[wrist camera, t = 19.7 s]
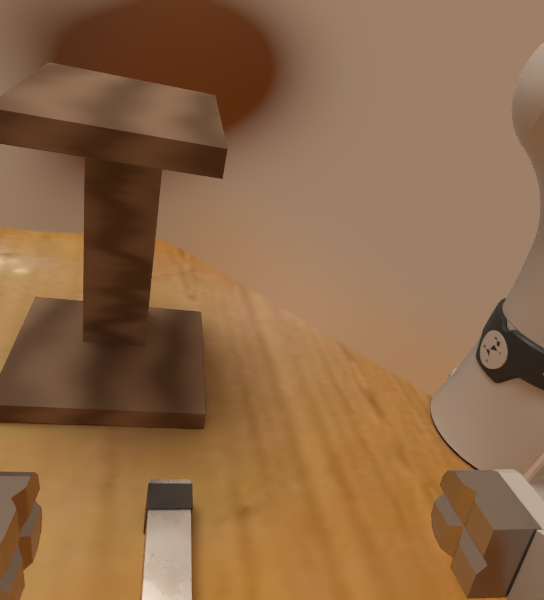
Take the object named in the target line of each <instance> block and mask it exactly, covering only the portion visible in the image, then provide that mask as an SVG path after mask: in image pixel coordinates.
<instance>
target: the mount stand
mask: <svg viewBox="0 0 544 600" xmlns="http://www.w3.org/2000/svg"><path fill="white" fill-rule="evenodd" d="M0 144H6V145H12V146H18V147H25V148H31V149H37V150H44V151H50V152H56V153H62V154H69V155H75V156H81V157H85V186H84V187H85V188H84V277H83V301H76V300H65V299H54V298H43V297H35V299H34V301H33V303H32V305H31V308H30V310H29V312H28V314H27V316H26V319H25V321H24V323H23V325H22V327H21V330H20V332H19V334H18V336H17V338H16V341H15V343H14V345H13V347H12V349H11V352H10V354H9V356H8V358H7V360H6V363H5V365H4V367H3V369H2V371H1V374H0V422H15V423H44V424H73V425H103V426H132V427H161V428H190V429H203V425H204V420H205V415H206V408H205V386H204V364H203V342H202V320H201V312H196V311H185V310H174V309H163V308H152V307H149V299H150V288H151V278H152V268H153V258H154V247H155V237H156V227H157V216H158V205H159V195H160V185H161V175H162V169H164V170H170V171H177V172H183V173H189V174H195V175H202V176H208V177H214V178H221V179H222V178H223V173H224V166H225V160H226V155H227V145H226V141H225V136H224V132H223V128H222V123H221V119H220V115H219V110H218V106H217V102H216V97H215V95H211V94H206V93H201V92H196V91H191V90H186V89H181V88H176V87H171V86H166V85H161V84H155V83H151V82H146V81H141V80H136V79H130V78H125V77H120V76H115V75H110V74H105V73H100V72H95V71H90V70H85V69H80V68H75V67H70V66H65V65H60V64H55V63H47V64H46V65H45V66H43V67H42V68H41V69H39V70H37V71H36V72H35V73H33V74H32V75H30V76H29V77H27V78H26V79H25V80H23V81H22V82H20V83H19V84H17V85H16V86H15V87H13V88H12V89H10V90H9V91H7V92H6V93H4V94H3V95H2V96H0Z"/></svg>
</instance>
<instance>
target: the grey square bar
mask: <svg viewBox="0 0 544 600" xmlns="http://www.w3.org/2000/svg"><path fill="white" fill-rule="evenodd" d="M192 508H193V498H192V484H191V479H150V483H149V484H148V492H147V500H146V507H145V520H144V534H145V539H144V553H143V567H142V581H141V595H140V600H192V568H191V513H192Z"/></svg>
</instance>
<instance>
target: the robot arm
mask: <svg viewBox="0 0 544 600" xmlns="http://www.w3.org/2000/svg"><path fill="white" fill-rule="evenodd" d="M512 120H513V126H514V129H515V133H516V135H517V138H518V140H519V142H520V143H521V145H522V146H523V148H524V149H525V151H526V153H527V155H528V157H529V158H530V161H531V163H532V165H533V168H534V170H535V173H536V176H537V180H538V185H539V191H540V201H541V202H540V205H541V208H540V220H539V225H538V230H537V233H536V237H535V239H534V242H533V245H532V247H531V249H530V251H529V254H528V256H527V258H526V261H525V263H524V265H523V267H522V269H521V271H520V274H519V275H518V277H517V279H516V281H515V283H514V285H513V287H512V289H511V290H510V292H509V294H508V296H507V298H505V299H502V300H501V301H500V302H499V303H498V305H497V306H496V308H495V309H494V311H493V312H492V313H491V316H490V318H489V320H488V321H487V323H486V325H485V327H484V329H483V332H482V335H481V337H480V338H479V340H478V341H477V343H476V344H475V345H474V347H473V348H472V349H471V351H470V352H469V353H468V355H467V356H466V357H465V359H464V360H463V362H462V363H461V364H460V366H459V367H458V368H454V369H453V370H452V371H451V373H450V374H449V377H448V380H447V382H446V383H445V384H444V385H443V386H442V387H441V388H440V389H439V390H438V391H437V392H436V393H435V394H434V396H433V398H432V400H431V415H432V418H433V421H434V423H435V425H436V427H437V429H438V431H439V432H440V434H441V435H442V437H443V438H444V439H445V441H446V442H447V443H448V444H449V445H450V446H451V447H452V448H453V449H454V450H455V451H456V452H457V453H458V454H459V455H460V456H461V457H462V458H464V459H465V460H466V461H467V462H469V463H470V464H471V465H473V466H474V467H476V468H477V469H479V470H448V471H447V472H446V473H445V474H444V475H443V477H442V480H441V483H440V486H441V488H442V490H443V492H444V493H443V494H442V495H441V496H440V497H439V498H437V499H436V500H435V501H434V505H433V509H432V512H431V519H432V529H433V532H434V536H435V538H436V540H437V542H438V544H439V546H440V548H441V549H442V550H443V551H444V552H446V553H447V554H448V555H450V556H451V557H452V564H451V569H452V571H453V573H454V575H455V577H456V579H457V581H458V583H459V584H460V586H461V588H462V590H463V592H464V594H465V596H466V598H507V600H544V42H543V43H542V44H541V45H540V46H539V47H538V48H537V50H536V51H535V52H534V53H533V55H532V56H531V57H530V59H529V60H528V62H527V63H526V65H525V66H524V68H523V70H522V72H521V74H520V76H519V79H518V81H517V84H516V87H515V90H514V95H513V101H512ZM39 489H40V486H39V478H38V474H36V473H35V472H0V600H20V597H21V595H22V592H23V589H24V586H25V582H24V571H23V570H25V569H26V568H27V567H28V566H29V565H30V564H31V563H33V561H34V558H35V555H36V552H37V549H38V544H39V539H40V534H41V526H42V510H41V506H39V505H38V504H37V503H36V502H35V500H36V497H37V495H38V492H39Z"/></svg>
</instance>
